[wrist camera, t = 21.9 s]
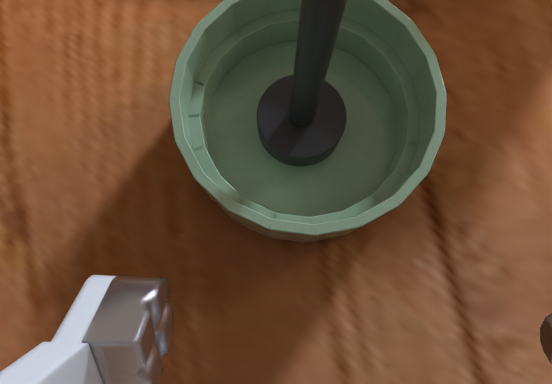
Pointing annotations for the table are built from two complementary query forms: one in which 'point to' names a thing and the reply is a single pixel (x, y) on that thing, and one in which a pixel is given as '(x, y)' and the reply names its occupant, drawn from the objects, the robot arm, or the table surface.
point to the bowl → (359, 112)
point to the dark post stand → (306, 93)
